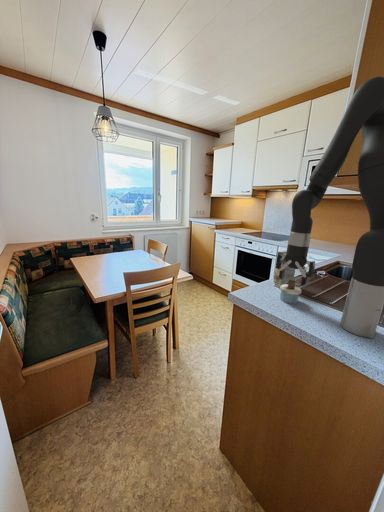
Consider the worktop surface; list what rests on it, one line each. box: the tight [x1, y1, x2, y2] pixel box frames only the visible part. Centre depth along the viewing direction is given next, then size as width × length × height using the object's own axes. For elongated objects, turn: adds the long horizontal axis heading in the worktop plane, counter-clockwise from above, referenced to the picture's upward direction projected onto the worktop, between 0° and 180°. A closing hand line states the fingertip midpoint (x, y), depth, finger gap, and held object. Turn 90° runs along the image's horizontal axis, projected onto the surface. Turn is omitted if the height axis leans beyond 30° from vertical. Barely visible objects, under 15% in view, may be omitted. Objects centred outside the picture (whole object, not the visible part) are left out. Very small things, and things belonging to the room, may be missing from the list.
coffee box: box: [273, 251, 296, 289], centre depth 103 cm, size 9×6×16 cm
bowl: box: [279, 290, 300, 305], centre depth 89 cm, size 7×7×4 cm
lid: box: [279, 279, 302, 295], centre depth 88 cm, size 8×8×4 cm
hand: (291, 282), depth 87 cm, fingers open, 8 cm apart
